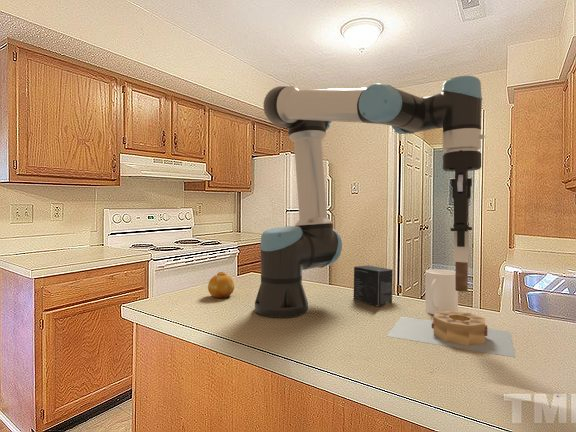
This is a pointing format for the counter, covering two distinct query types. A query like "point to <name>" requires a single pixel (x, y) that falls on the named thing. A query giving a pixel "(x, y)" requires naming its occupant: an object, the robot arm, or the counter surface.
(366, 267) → the box
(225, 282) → the fruit
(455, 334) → the bead
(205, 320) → the counter surface
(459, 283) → the brown cigar
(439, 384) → the counter surface
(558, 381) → the counter surface
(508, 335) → the board
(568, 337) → the counter surface
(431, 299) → the mug
